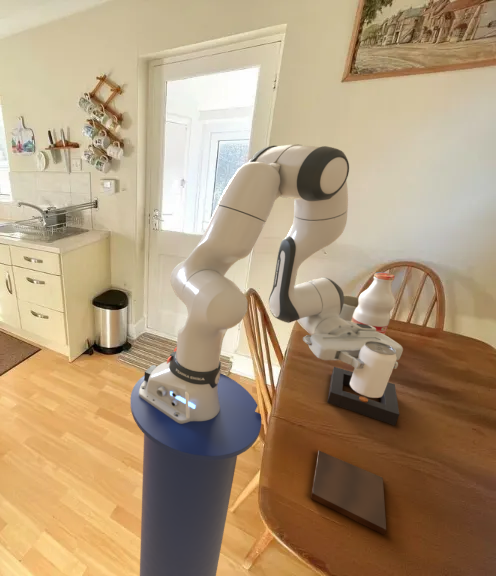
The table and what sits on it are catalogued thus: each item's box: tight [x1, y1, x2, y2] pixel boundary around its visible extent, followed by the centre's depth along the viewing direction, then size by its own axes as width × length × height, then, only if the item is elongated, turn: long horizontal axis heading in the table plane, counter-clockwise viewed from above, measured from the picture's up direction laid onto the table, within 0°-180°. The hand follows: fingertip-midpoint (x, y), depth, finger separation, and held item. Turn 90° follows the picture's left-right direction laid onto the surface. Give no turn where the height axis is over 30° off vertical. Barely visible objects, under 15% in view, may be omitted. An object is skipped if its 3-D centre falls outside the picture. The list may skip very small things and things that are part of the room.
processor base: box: [327, 366, 400, 426], centre depth 85 cm, size 14×14×4 cm
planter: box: [339, 295, 359, 322], centre depth 122 cm, size 12×12×11 cm
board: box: [310, 450, 387, 536], centre depth 61 cm, size 11×12×2 cm
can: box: [349, 341, 397, 399], centre depth 73 cm, size 6×6×12 cm
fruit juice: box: [351, 271, 396, 335], centre depth 102 cm, size 9×9×28 cm
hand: (377, 366), depth 72 cm, fingers closed on can, 6 cm apart
